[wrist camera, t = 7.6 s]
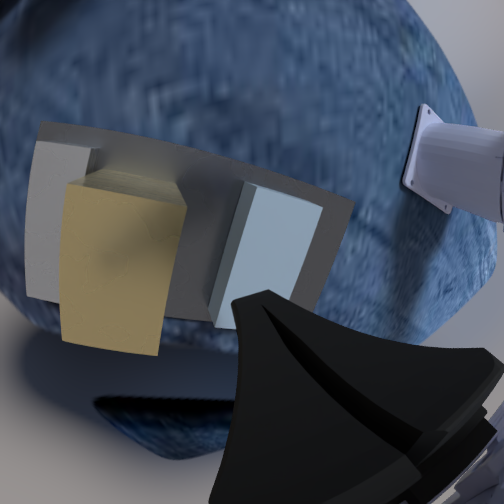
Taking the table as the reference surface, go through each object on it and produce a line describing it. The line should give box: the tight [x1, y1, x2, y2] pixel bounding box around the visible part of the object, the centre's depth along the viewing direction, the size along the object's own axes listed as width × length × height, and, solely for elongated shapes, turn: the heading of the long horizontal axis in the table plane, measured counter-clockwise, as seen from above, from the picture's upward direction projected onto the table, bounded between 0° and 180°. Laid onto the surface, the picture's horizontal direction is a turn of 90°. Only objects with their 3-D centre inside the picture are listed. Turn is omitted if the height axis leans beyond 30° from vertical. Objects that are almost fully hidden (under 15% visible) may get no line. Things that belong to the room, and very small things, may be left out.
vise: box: [25, 121, 355, 322], centre depth 15 cm, size 20×10×3 cm, turn 73°
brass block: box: [59, 169, 187, 356], centre depth 11 cm, size 4×6×6 cm, turn 163°
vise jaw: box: [208, 182, 323, 329], centre depth 16 cm, size 4×8×2 cm, turn 163°
